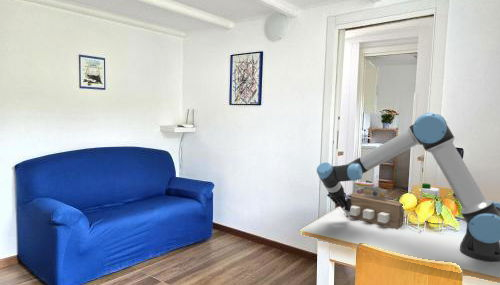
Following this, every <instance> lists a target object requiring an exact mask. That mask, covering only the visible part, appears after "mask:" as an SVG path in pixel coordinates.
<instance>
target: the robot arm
mask: <svg viewBox="0 0 500 285" xmlns="http://www.w3.org/2000/svg"><path fill="white" fill-rule="evenodd" d="M407 128H408V129H407V130H405V131H404V132H402V133H400V134H399V135H397V136H395V137H393V138H391V139H389V140H388V141H386V142H384V143H383V144H380V145H379V146H377V147H375V148H374V149H372V150H371V151H368V152H367V153H365V154H364V155H361V156H360V157H358V158H356V159H354V160H353V161H351V162H349V163H346V164H342V165H335V166H334V165H332V164H331V163H330V162H325V161H324V162H322V163H319V165H318V166H317V167H316V173H317V176H318V178H319V179H320V180H321V182H322V185H323V186H324V188H325V189H326V191H327V194H326V196H327V197H328V198H329V199H331V201H332V202H333V203H334V204H335V205H336V207H340V208H341V210H343V212H344V214H345V216H346V215H347V216H346V217H348V216H350V213H351V211H350V208H351V206H352V203H351V196H348V195H347V193H346V192H345V189H344V186H343V184H342V183H341V182H352V181H353V182H355V181H360V180H361V179H362V178H363V174H366V173H367V172H368V171H370V170H372V169H374V168H376V167H377V166H380V165H382V164H383V163H386V162H387V161H389V160H391V159H393V158H395V157H397V156H399V155H400V154H403V153H404V152H406V151H408V150H409V149H412V148H413V147H416V146H417V145H419V146H422V147H423V148H424V151H425V152H428V153H430V154H431V155H432V157H433V158H434V161H435V162H436V163H437V165H438V166H439V169H440V170H441V173H442V174H443V176H444V177H445V178H444V179H446V182H447V183H448V185H449V187H450V188H451V189H452V191H453V193H455V195H456V197H457V199H458V200H459V202H460V204H461V206H462V209H461V214H462V216H463V217H464V219H465V220H464V221H465V223H466V229H465V230H466V231H465V234H464V236H463V237H462V240H461V241H460V244H459V251H460V252H461V253H462V254H464V255H466V256H468V257H470V258H474V259H478V260H482V261H487V262H499V261H500V202H498V201H493V200H491V199H487V198H486V197H485V194H483V192H482V191H481V189H480V187H479V184H477V182H476V180H475V178H474V177H473V174H472V173H471V172H470V170H469V168H468V166H467V165H466V163H465V161H464V159H463V158H462V156H461V154H460V153H459V151H458V149H457V147H456V146H455V145H454V141H455V136H454V134H453V132H452V131H451V129H450V127H449V126H448V123H447V121H446V119H445V118H444V117H443V116H442V115H441V114H438V113H435V112H426V113H423V114H421V115H419V116H418V117H417V118H416V119H415V121H414V122H413V124H412V125H410V126H408V127H407Z"/></svg>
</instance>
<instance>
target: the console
mask: <svg viewBox="0 0 500 285" xmlns="http://www.w3.org/2000/svg"><path fill="white" fill-rule="evenodd" d="M387 193H388V189H384V188H381V187H380V188H374V187H369V186H365V192H364V195H363V194H358V193H350V194H348V195H347V196H351V203H352V206H353V205H357V206H361V214H359V215H357V216H354V215H350V216H347V215H346V214H345V216H346V217H349V218H352V219H357V220H361V221H364V222H368V223H372V224H374V225H375V224H376V225H380V226H384V227H388V228H391V229H396V230H398V229H399V228H401V227H403V226H404V217H405V216H404V214H405V212H404V211H405V208H404V209H403V207H402V206H403V204H402V203H403V202H402V203H400V202H401V201H398V200H397V201H396V200H391V199H387V196H388V194H387ZM368 208H370V209H374V210H375V218H372V219H366V218H363V210H365V209H368ZM381 212H387V213H390V221H389V222H387V223H382V222H378V214H379V213H381Z"/></svg>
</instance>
